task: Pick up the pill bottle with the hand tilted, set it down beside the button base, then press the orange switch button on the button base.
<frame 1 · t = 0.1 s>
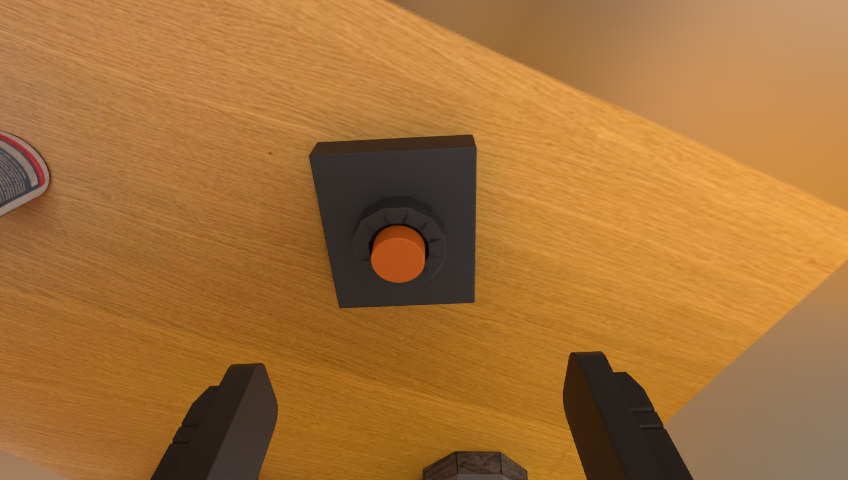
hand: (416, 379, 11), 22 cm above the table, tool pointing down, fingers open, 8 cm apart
pill bottle: (14, 163, 31), on the table
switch: (398, 254, 29), point 5 cm above the table, slide at 0.2 cm
button base: (401, 219, 33), on the table
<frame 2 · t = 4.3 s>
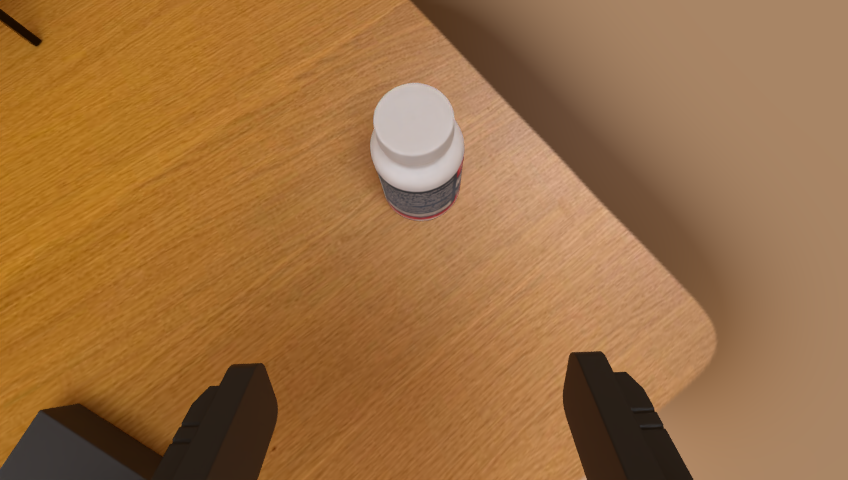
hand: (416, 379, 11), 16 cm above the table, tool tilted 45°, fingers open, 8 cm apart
pill bottle: (421, 186, 29), on the table
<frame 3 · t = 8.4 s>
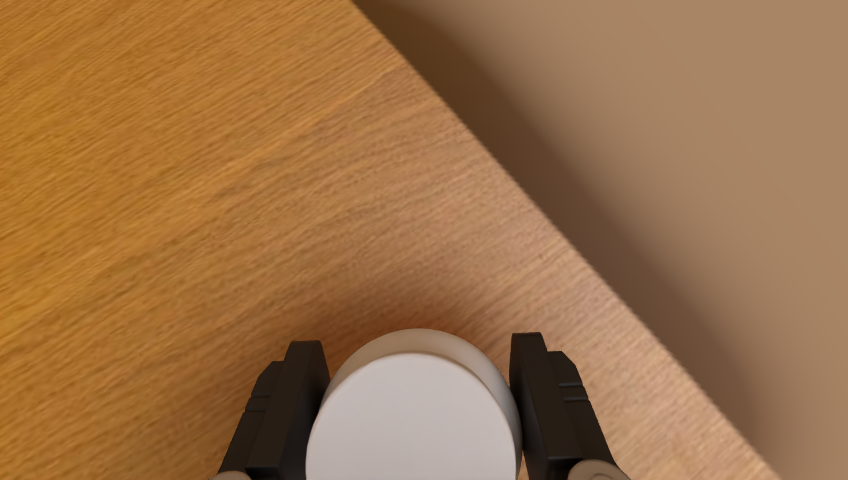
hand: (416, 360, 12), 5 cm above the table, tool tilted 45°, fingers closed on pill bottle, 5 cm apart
pill bottle: (425, 403, 17), on the table, touching gripper
when the fingers open (5 cm above the table, at t = 16.3 s): pill bottle stays where it is, on the table.
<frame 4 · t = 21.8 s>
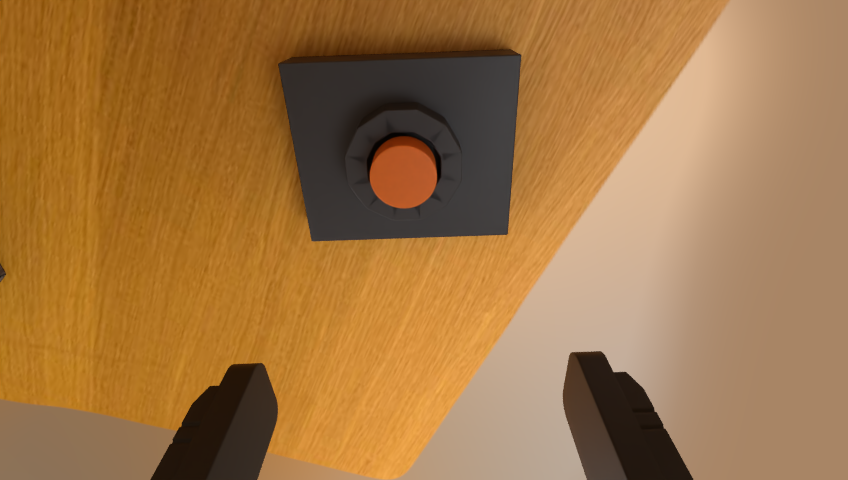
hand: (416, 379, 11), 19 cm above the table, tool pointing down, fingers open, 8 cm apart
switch: (403, 172, 23), point 5 cm above the table, slide at 0.2 cm
button base: (406, 144, 28), on the table
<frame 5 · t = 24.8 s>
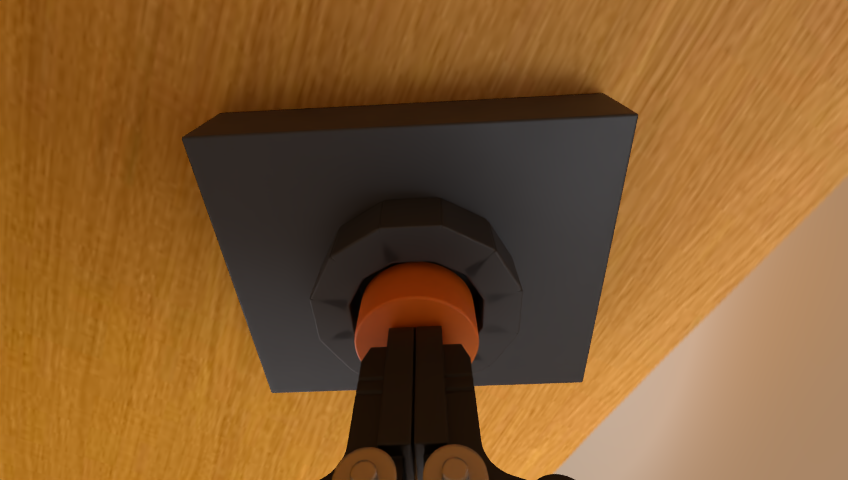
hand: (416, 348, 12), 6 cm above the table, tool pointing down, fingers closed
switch: (417, 325, 13), point 5 cm above the table, slide at 0.0 cm, touching gripper
button base: (418, 242, 17), on the table
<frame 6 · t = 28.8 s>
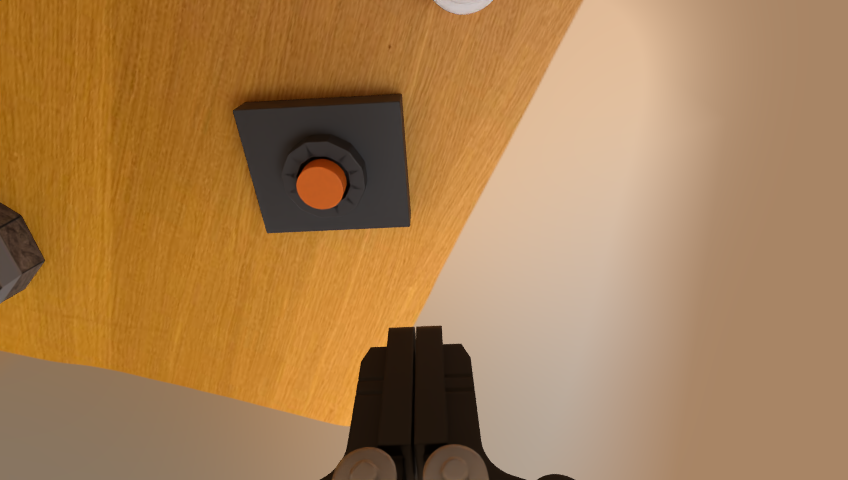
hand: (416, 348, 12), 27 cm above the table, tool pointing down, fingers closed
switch: (322, 184, 33), point 5 cm above the table, slide at 0.2 cm
button base: (333, 161, 38), on the table
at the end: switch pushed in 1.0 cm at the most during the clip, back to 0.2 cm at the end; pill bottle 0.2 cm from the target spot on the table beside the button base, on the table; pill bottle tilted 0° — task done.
